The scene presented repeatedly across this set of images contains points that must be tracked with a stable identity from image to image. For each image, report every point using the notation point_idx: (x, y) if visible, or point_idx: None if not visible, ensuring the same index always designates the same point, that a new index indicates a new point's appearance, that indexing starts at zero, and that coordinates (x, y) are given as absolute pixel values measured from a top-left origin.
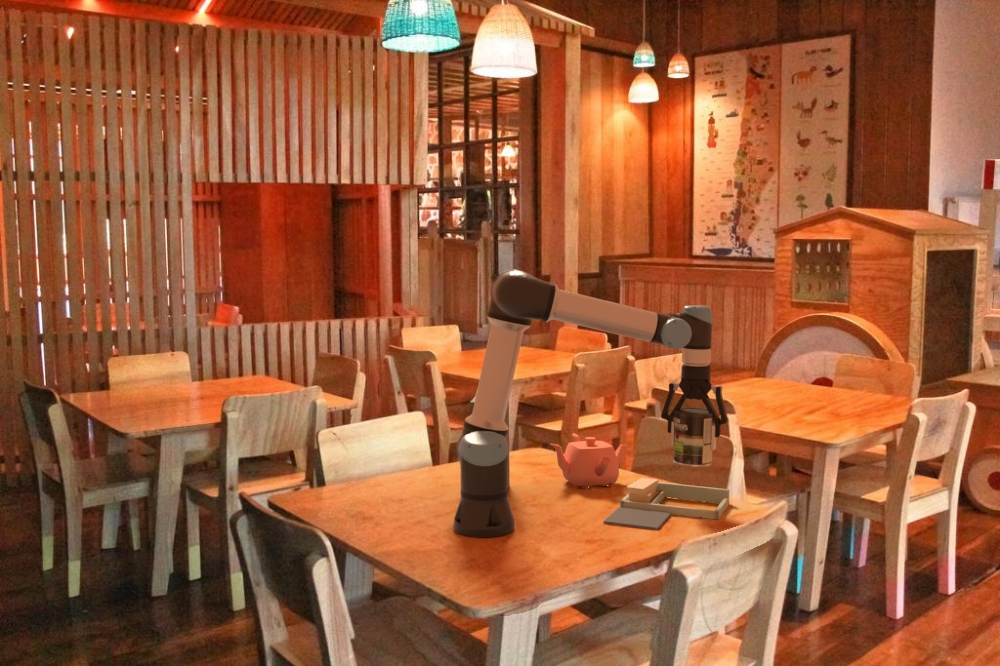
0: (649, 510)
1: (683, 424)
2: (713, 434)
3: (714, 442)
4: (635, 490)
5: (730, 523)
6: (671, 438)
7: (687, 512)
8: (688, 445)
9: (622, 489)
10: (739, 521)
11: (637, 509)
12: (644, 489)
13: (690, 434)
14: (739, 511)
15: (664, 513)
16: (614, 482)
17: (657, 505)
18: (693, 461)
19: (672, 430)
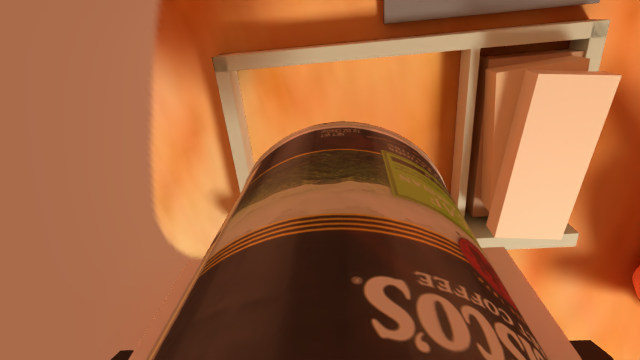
0: (470, 15)
1: (448, 351)
2: (138, 358)
3: (169, 308)
4: (569, 72)
5: (167, 29)
6: (528, 288)
7: (326, 45)
8: (339, 179)
9: (597, 243)
10: (154, 69)
11: (519, 4)
12: (531, 89)
13: (318, 240)
14: (201, 176)
15: (405, 2)
16: (637, 268)
17: (446, 35)
18: (304, 140)
19: (563, 352)
